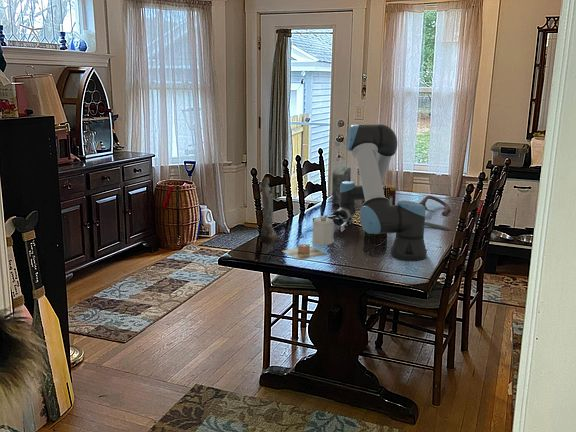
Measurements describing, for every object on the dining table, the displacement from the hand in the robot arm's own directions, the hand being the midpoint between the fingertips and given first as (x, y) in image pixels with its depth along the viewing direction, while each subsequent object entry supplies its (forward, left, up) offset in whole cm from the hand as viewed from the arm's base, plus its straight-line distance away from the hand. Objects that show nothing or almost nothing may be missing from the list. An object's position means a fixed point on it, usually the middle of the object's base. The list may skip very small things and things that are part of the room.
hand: (327, 227), depth 255 cm
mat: (-4, +6, -6) cm, 10 cm away
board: (-12, +22, -6) cm, 26 cm away
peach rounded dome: (-12, +22, -5) cm, 26 cm away
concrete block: (+57, -53, -7) cm, 78 cm away
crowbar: (-1, -54, -7) cm, 54 cm away
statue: (+14, +24, -7) cm, 28 cm away
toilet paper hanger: (+14, -84, -7) cm, 85 cm away
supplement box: (+26, -54, -7) cm, 60 cm away
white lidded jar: (-4, +6, -6) cm, 9 cm away
